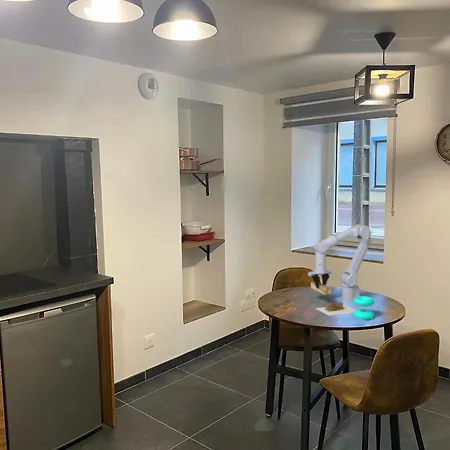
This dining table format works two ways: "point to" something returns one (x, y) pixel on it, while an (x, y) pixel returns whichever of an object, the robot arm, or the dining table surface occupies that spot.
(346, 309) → the board
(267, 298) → the dining table surface
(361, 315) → the donuts
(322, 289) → the bar
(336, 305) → the block
